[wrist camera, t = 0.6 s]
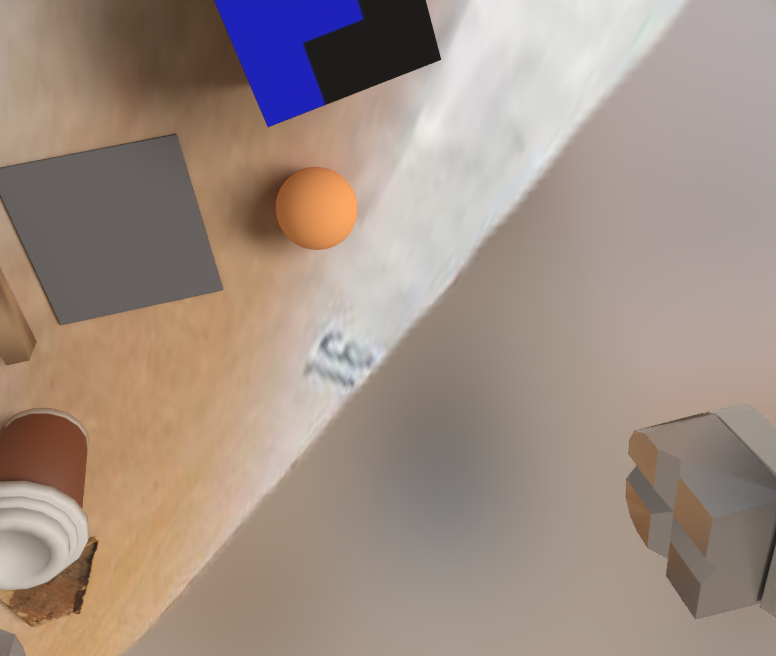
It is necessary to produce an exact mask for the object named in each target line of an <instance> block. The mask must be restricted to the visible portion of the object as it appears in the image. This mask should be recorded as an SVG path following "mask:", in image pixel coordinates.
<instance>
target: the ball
mask: <svg viewBox="0 0 776 656" xmlns="http://www.w3.org/2000/svg"><path fill="white" fill-rule="evenodd" d="M357 211H358V206H357V200H356V196H355V193H354V191H353V189H352V187H351V186H350V184H349V183H348V182H347V181H346V180H345V179H344V178H343V177H342V176H341V175H339V174H338V173H336V172H335V171H332V170H330V169H327V168H321V167H310V168H305V169H302V170H300V171H298V172H296V173H294V174H293V175H291V176H290V177H289V178H288V179H287V180H286V181H285V182H284V184H283V185H282V187H281V188H280V190H279V193H278V196H277V199H276V216H277V220H278V223H279V225H280V227H281V229H282V231H283V232H284V233H285V235H286V236H287V237H288V238H289V239H290V240H291V241H293V242H294V243H296V244H297V245H299V246H301V247H304V248H307V249H313V250H321V249H327V248H331V247H333V246H335V245H337V244H339V243H340V242H342V241H343V240H344V239H345V238H346V237H347V236H348V235H349V234H350V232H351V231H352V229H353V227H354V225H355V222H356V219H357Z"/></svg>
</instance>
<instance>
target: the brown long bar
mask: <svg viewBox="0 0 776 656" xmlns="http://www.w3.org/2000/svg"><path fill="white" fill-rule="evenodd" d="M35 344H36V340H35V338H34V336H33V334H32V332H31V330H30V328H29V326H28V324H27V322H26V320H25V318H24V316H23V313H22V311H21V309H20V307H19V305H18V303H17V301H16V299H15V297H14V295H13V293H12V291H11V289H10V287H9V285H8V283H7V281H6V279H5V277H4V275H3V273H2V271H1V269H0V355H1V357H2V359H3V360H4V362H5V364H6V365H10V364H15V363H20V362H24V361H29V360H30V357H31V354H32V352H33V349H34V346H35Z"/></svg>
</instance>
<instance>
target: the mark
mask: <svg viewBox="0 0 776 656" xmlns="http://www.w3.org/2000/svg"><path fill="white" fill-rule="evenodd" d="M0 195H1V198H2V200H3V202H4V204H5V206H6V208H7V210H8V213H9V215H10V217H11V219H12V221H13V223H14V226H15V228H16V230H17V232H18V234H19V236H20V238H21V241H22V243H23V245H24V247H25V249H26V251H27V253H28V256H29V258H30V260H31V262H32V264H33V266H34V269H35V271H36V273H37V275H38V277H39V279H40V281H41V284H42V286H43V288H44V290H45V292H46V294H47V296H48V299H49V301H50V303H51V305H52V307H53V309H54V312H55V314H56V316H57V318H58V320H59V322H60V324H61V325H64V324H69V323H74V322H78V321H83V320H87V319H92V318H97V317H101V316H106V315H111V314H115V313H120V312H124V311H129V310H134V309H138V308H143V307H148V306H152V305H157V304H162V303H166V302H171V301H175V300H180V299H185V298H189V297H194V296H199V295H203V294H208V293H212V292H217V291H222V290H223V287H222V284H221V280H220V277H219V274H218V270H217V267H216V264H215V260H214V257H213V254H212V251H211V247H210V244H209V241H208V237H207V234H206V231H205V227H204V224H203V221H202V217H201V214H200V211H199V207H198V204H197V201H196V197H195V194H194V191H193V188H192V184H191V181H190V178H189V174H188V171H187V168H186V164H185V161H184V158H183V154H182V151H181V148H180V144H179V141H178V138H177V134H173V135H168V136H163V137H158V138H153V139H147V140H142V141H137V142H132V143H127V144H121V145H116V146H111V147H106V148H101V149H95V150H90V151H85V152H80V153H75V154H69V155H64V156H59V157H54V158H49V159H43V160H38V161H33V162H28V163H23V164H17V165H12V166H7V167H2V168H0Z"/></svg>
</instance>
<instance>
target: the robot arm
mask: <svg viewBox="0 0 776 656" xmlns="http://www.w3.org/2000/svg"><path fill="white" fill-rule="evenodd" d="M628 454H629V455H630V457H631V458H632V460H633V461H634V462H635V464H636V467H635V468H634V469H633V471H632V472H631V473H630V474H629V476H628V477H627V478H626V500H627V504H628V509H629V513H630V517H631V519H632V521H633V523H634V526H635V528H636V530H637V532H638V534H639V535H640V537H641V539H642V540H643V542H644V543H645V545H646V546H647V548H649V549H651V550H653V551H654V552H656V553H658V554H660V555H662V556H664V557H666V558H668V562H667V570H666V577H667V578H668V579H669V581H670V582H671V584H672V586H673V587H674V588H675V590H676V591H677V593H678V595H679V596H680V597H681V599H682V600H683V602H684V603H685V605H686V606H687V608H688V609H689V611H690V612H691V614H692V615H693V617H694V618H695V619H699V618H703V617H707V616H711V615H715V614H719V613H723V612H727V611H731V610H735V609H739V608H743V607H747V606H751V605H755V604H759V603H761V604H760V608H762V609H764V610H765V611H767V612H768V613H770V614H771V615H773V616H775V617H776V427H774V426H773V425H772V424H771V423H770V422H769V421H768V420H767V419H766V418H765V417H764V416H763V415H762V414H761V413H760V412H759V411H757V410H756V409H755V408H754V407H752V406H750V405H748V404H745V403H740V404H736V405H732V406H728V407H725V408H720V409H717V410H713V411H709V412H706V413H701V414H697V415H693V416H689V417H685V418H681V419H677V420H674V421H670V422H666V423H662V424H658V425H655V426H651V427H647V428H643V429H639V430H635V431H634V432H633V434H632V436H631V437H630V440H629V451H628ZM0 656H26V654H25V651H24V648H23V646H22V645H21V643H20V642H19V640H18V639H17V637H16V636H15V634H12V633H10V632H7V631H4V630H2V629H0Z"/></svg>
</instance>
